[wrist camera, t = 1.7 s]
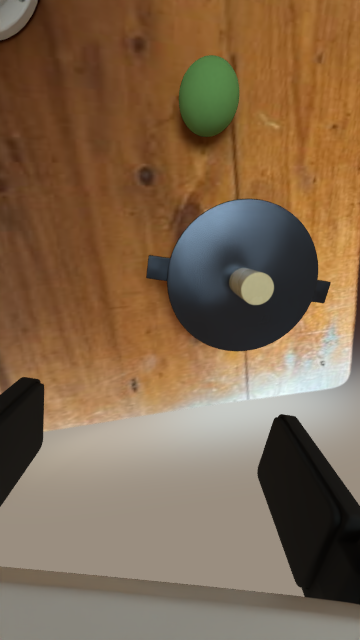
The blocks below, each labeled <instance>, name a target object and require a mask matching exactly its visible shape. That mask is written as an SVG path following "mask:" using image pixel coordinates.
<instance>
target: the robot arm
mask: <svg viewBox="0 0 360 640" xmlns="http://www.w3.org/2000/svg"><path fill="white" fill-rule="evenodd" d="M37 3H38V0H0V40H4V39H7V38H9V37H11V36H13V35H15V34H16V33H17V32H19V31H20V30H21V29H22V28H23V27H24V26H25V25H26V23H27V22H28V21H29V19H30V18H31V16H32V15H33V12H34V10H35V7H36V5H37ZM43 417H44V384H41V383H40V380H39V379H33V378H27V377H22V378H20V379H19V380H18V381H17V382H16V383H14V384H13V385H12V386H11V387H9V388H8V389H7V390H6V391H5V392H3V393H2V394H1V395H0V506H1V505H2V504H3V502H4V501H5V499H6V498H7V496H8V495H9V493H10V492H11V490H12V489H13V488H14V486H15V485H16V483H17V482H18V480H19V479H20V477H21V476H22V475H23V473H24V472H25V470H26V469H27V467H28V466H29V464H30V463H31V462H32V460H33V459H34V457H35V456H36V454H37V453H38V451H39V449H40V448H41V445H42V442H43ZM258 478H259V481H260V484H261V487H262V490H263V493H264V495H265V498H266V501H267V504H268V506H269V509H270V512H271V515H272V518H273V520H274V523H275V526H276V529H277V532H278V535H279V537H280V540H281V543H282V546H283V548H284V551H285V554H286V557H287V560H288V563H289V565H290V568H291V571H292V574H293V576H294V579H295V582H296V584H297V585H298V586H299V587H302V590H303V593H304V596H305V597H301V596H292V595H283V594H274V593H264V592H255V591H245V590H236V589H226V588H217V587H207V586H198V585H188V584H178V583H167V582H158V581H147V580H138V579H127V578H117V577H107V576H97V575H86V574H75V573H64V572H54V571H43V570H32V569H21V568H11V567H0V640H360V506H359V505H358V503H357V502H356V500H355V499H354V497H353V496H352V494H351V493H350V492H349V490H348V489H347V487H346V486H345V485H344V483H343V482H342V481H341V479H340V478H339V477H338V475H337V474H336V472H335V471H334V469H333V468H332V467H331V465H330V464H329V462H328V461H327V460H326V458H325V457H324V455H323V454H322V453H321V451H320V450H319V448H318V447H317V446H316V444H315V443H314V441H313V440H312V439H311V437H310V436H309V434H308V433H307V432H306V430H305V429H304V428H303V426H302V425H301V423H300V422H299V420H298V419H297V418H296V417H295V416H290V415H283V414H281V415H279V416H278V417H276V418H275V419H274V421H273V424H272V427H271V430H270V433H269V436H268V439H267V442H266V445H265V448H264V451H263V454H262V457H261V460H260V463H259V466H258Z"/></svg>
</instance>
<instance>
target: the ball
mask: <svg viewBox="0 0 360 640" xmlns="http://www.w3.org/2000/svg"><path fill="white" fill-rule="evenodd" d="M238 102H239V84H238V79H237V76H236V74H235V72H234V70H233V68H232V67H231V65H230V64H229V63H228V62H227V61H226V60H224V59H223V58H221V57H218V56H213V55H210V56H204V57H202V58H200V59H198V60H197V61H195V62H194V63H193V64H192V65H191V66H190V67H189V69H188V70H187V72H186V73H185V75H184V77H183V80H182V83H181V86H180V91H179V107H180V112H181V116H182V118H183V121H184V122H185V124H186V126H187V127H188V128H189V129H190V130H191V131H192V132H193V133H195V134H197V135H199V136H202V137H210V136H214V135H217V134H219V133H220V132H222V131H223V130H224V129H225V128H226V127H227V126H228V125H229V124H230V122H231V121H232V119H233V117H234V115H235V113H236V110H237V107H238Z"/></svg>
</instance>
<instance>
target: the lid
mask: <svg viewBox="0 0 360 640" xmlns="http://www.w3.org/2000/svg"><path fill="white" fill-rule="evenodd" d="M317 279H318V260H317V254H316V250H315V247H314V243H313V241H312V239H311V237H310V235H309V233H308V231H307V230H306V228H305V227H304V225H303V224H302V223H301V222H300V221H299V220H298V219H297V218H296V217H295V216H294V215H293V214H291V213H290V212H289V211H287V210H286V209H284V208H282V207H281V206H279V205H276V204H274V203H271V202H268V201H264V200H258V199H238V200H233V201H228V202H225V203H222V204H219V205H217V206H215V207H213V208H211V209H209V210H207V211H206V212H204V213H203V214H201V215H200V216H199V217H197V218H196V219H195V220H194V221H193V222H192V223H191V224H190V225H189V226H188V227H187V229H186V230H185V231H184V232H183V234H182V235H181V237H180V238H179V240H178V241H177V243H176V245H175V248H174V250H173V252H172V255H171V258H170V261H169V267H168V274H167V287H168V294H169V299H170V303H171V306H172V308H173V311H174V313H175V315H176V317H177V318H178V320H179V321H180V323H181V324H182V325H183V327H184V328H185V329H186V330H187V331H188V332H189V333H190V334H191V335H193V336H194V337H195V338H196V339H198V340H200V341H201V342H203V343H205V344H207V345H209V346H212V347H215V348H218V349H222V350H227V351H247V350H252V349H257V348H260V347H263V346H266V345H268V344H270V343H273V342H274V341H276V340H278V339H280V338H281V337H282V336H284V335H285V334H286V333H288V332H289V331H290V330H291V329H292V328H293V327H294V326H295V325H296V324H297V323H298V322H299V321H300V319H301V318H302V317H303V315H304V314H305V312H306V311H307V309H308V307H309V305H310V303H311V301H312V298H313V296H314V293H315V289H316V285H317Z"/></svg>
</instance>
